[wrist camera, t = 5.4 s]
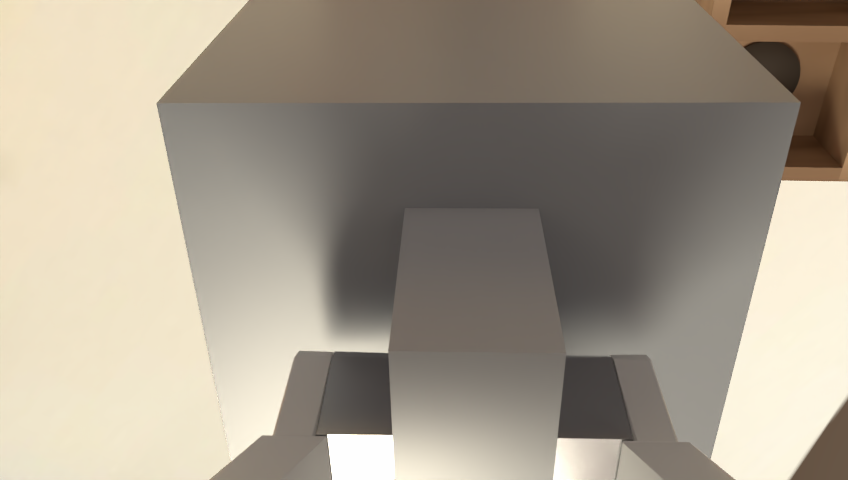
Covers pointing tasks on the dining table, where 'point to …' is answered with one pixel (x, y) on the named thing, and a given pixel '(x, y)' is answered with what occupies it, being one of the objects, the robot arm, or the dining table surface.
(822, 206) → the dining table surface
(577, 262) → the housing
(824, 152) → the open brown box
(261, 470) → the robot arm
